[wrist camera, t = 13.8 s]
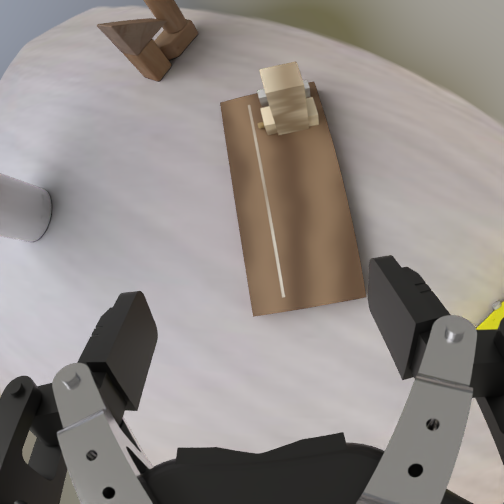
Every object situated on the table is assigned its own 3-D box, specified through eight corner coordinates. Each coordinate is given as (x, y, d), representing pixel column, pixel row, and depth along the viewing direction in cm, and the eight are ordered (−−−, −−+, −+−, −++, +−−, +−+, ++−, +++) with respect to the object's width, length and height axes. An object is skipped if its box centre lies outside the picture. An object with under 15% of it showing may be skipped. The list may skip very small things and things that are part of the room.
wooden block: (144, 77, 43) (79, 9, 25) (183, 30, 43) (135, -44, 25) (159, 82, 42) (95, 9, 24) (199, 33, 42) (154, -46, 24)
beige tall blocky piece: (261, 139, 36) (243, 98, 27) (257, 117, 36) (238, 74, 27) (319, 126, 34) (317, 82, 25) (312, 105, 35) (308, 59, 26)
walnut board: (256, 314, 36) (249, 318, 32) (224, 110, 39) (215, 94, 35) (363, 296, 33) (369, 297, 30) (314, 90, 37) (313, 72, 33)
